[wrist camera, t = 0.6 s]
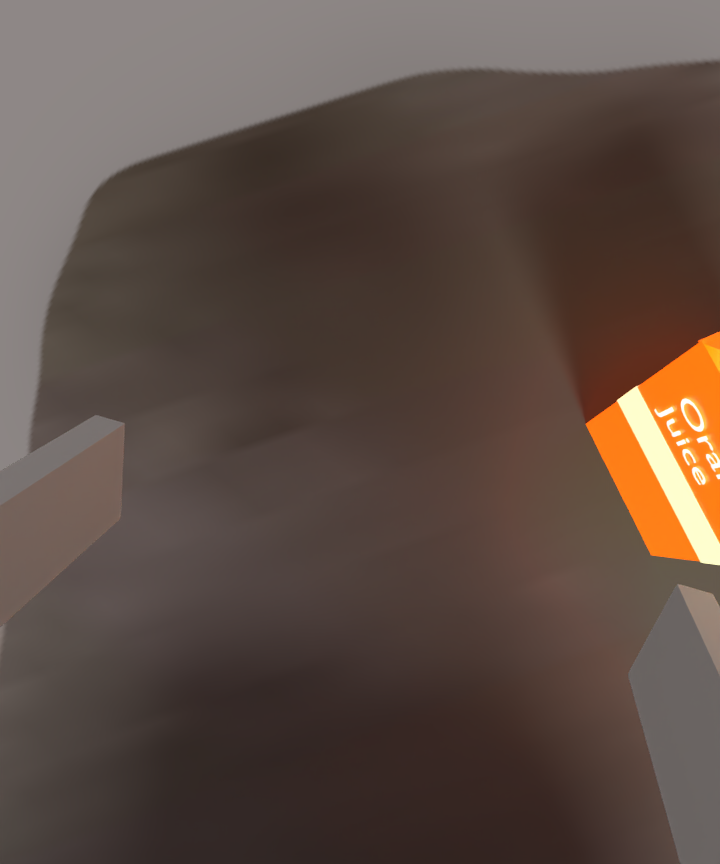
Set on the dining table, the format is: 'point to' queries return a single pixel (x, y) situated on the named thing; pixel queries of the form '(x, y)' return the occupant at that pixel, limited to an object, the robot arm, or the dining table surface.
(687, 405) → the orange juice
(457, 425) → the dining table surface
